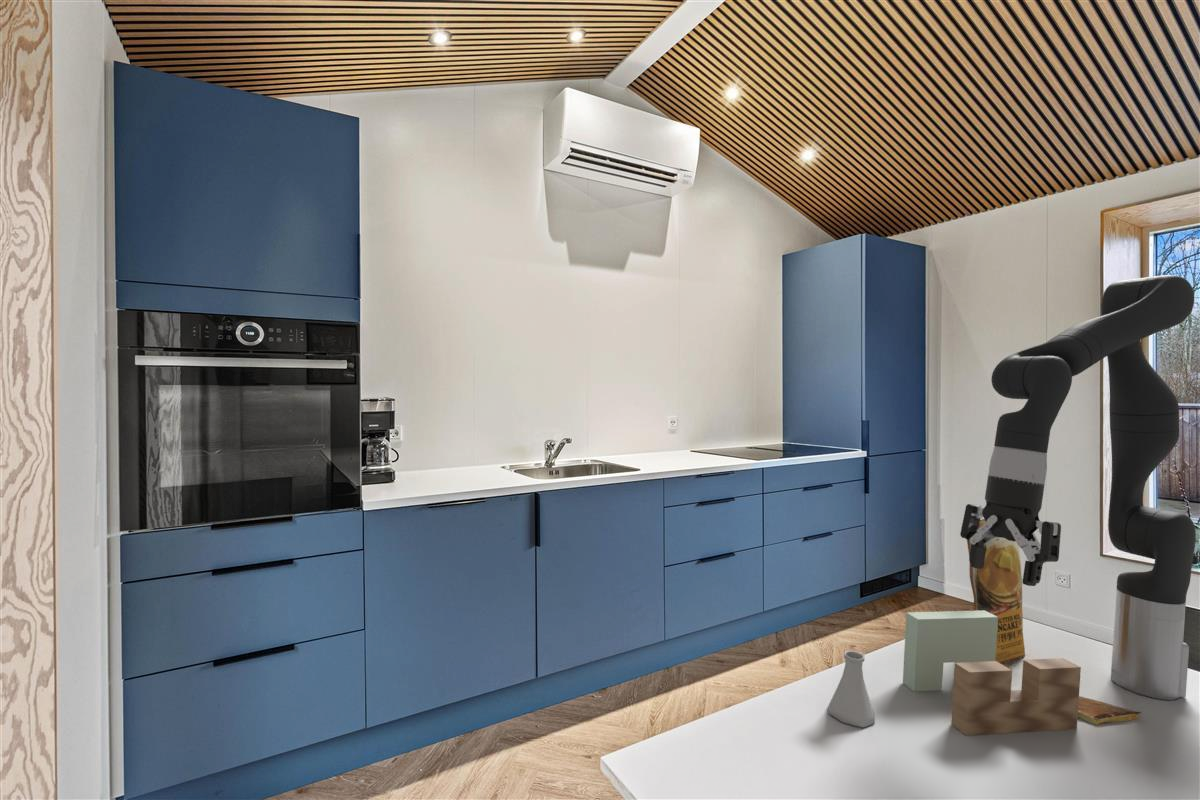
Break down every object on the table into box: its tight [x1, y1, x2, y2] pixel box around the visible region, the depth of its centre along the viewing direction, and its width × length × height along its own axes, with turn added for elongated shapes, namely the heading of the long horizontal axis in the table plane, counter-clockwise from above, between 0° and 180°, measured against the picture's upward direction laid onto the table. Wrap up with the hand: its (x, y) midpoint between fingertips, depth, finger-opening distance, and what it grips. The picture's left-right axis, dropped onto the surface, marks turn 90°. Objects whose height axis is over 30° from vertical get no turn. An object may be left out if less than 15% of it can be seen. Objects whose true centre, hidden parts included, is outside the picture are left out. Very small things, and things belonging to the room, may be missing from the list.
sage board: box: [902, 610, 998, 693], centre depth 104 cm, size 16×3×13 cm, turn 99°
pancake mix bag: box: [966, 518, 1026, 664], centre depth 117 cm, size 7×19×28 cm, turn 115°
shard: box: [1078, 695, 1143, 726], centre depth 96 cm, size 11×8×2 cm
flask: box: [827, 649, 875, 728], centre depth 93 cm, size 7×7×10 cm
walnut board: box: [950, 657, 1082, 737], centre depth 92 cm, size 20×3×10 cm, turn 99°
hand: (1001, 576), depth 93 cm, fingers open, 8 cm apart
